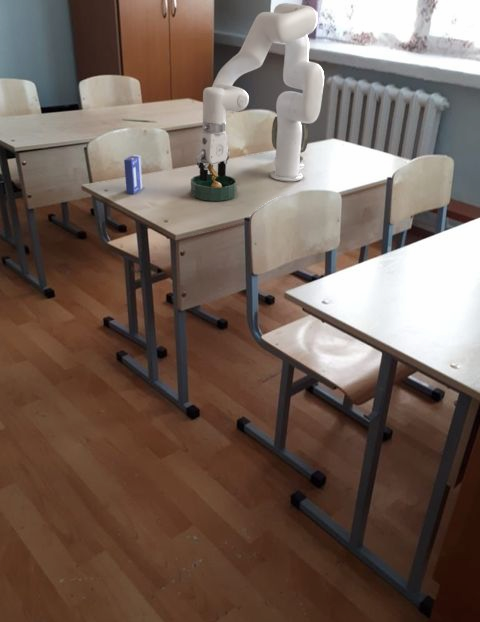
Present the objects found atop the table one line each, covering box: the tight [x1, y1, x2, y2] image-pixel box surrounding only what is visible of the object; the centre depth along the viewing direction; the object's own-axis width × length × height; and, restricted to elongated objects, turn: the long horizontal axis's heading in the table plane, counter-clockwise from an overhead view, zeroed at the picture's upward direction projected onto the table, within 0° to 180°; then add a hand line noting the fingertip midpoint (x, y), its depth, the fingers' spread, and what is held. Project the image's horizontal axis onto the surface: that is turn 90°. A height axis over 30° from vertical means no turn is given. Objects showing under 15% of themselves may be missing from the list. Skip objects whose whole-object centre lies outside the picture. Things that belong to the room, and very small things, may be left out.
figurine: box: [207, 163, 222, 187], centre depth 210 cm, size 8×6×12 cm
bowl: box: [190, 173, 238, 202], centre depth 212 cm, size 16×16×5 cm
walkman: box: [123, 154, 143, 195], centre depth 209 cm, size 8×3×12 cm, turn 167°
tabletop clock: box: [271, 115, 310, 161], centre depth 253 cm, size 14×9×25 cm, turn 102°
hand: (212, 177), depth 210 cm, fingers open, 9 cm apart
